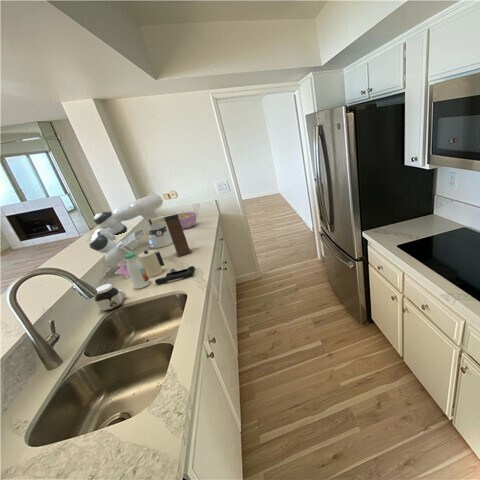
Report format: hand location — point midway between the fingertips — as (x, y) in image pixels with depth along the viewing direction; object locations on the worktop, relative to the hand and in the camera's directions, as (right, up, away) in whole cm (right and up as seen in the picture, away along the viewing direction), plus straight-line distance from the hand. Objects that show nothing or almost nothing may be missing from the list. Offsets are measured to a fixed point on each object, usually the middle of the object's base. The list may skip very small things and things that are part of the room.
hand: (142, 231), depth 173 cm
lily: (-4, -28, -6) cm, 29 cm away
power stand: (+18, -15, +18) cm, 29 cm away
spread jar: (+10, -39, -36) cm, 54 cm away
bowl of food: (-8, +6, +76) cm, 76 cm away
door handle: (+30, -27, -14) cm, 43 cm away
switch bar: (+13, +8, +7) cm, 17 cm away
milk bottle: (+14, -32, -20) cm, 40 cm away
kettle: (+13, -27, -7) cm, 30 cm away
